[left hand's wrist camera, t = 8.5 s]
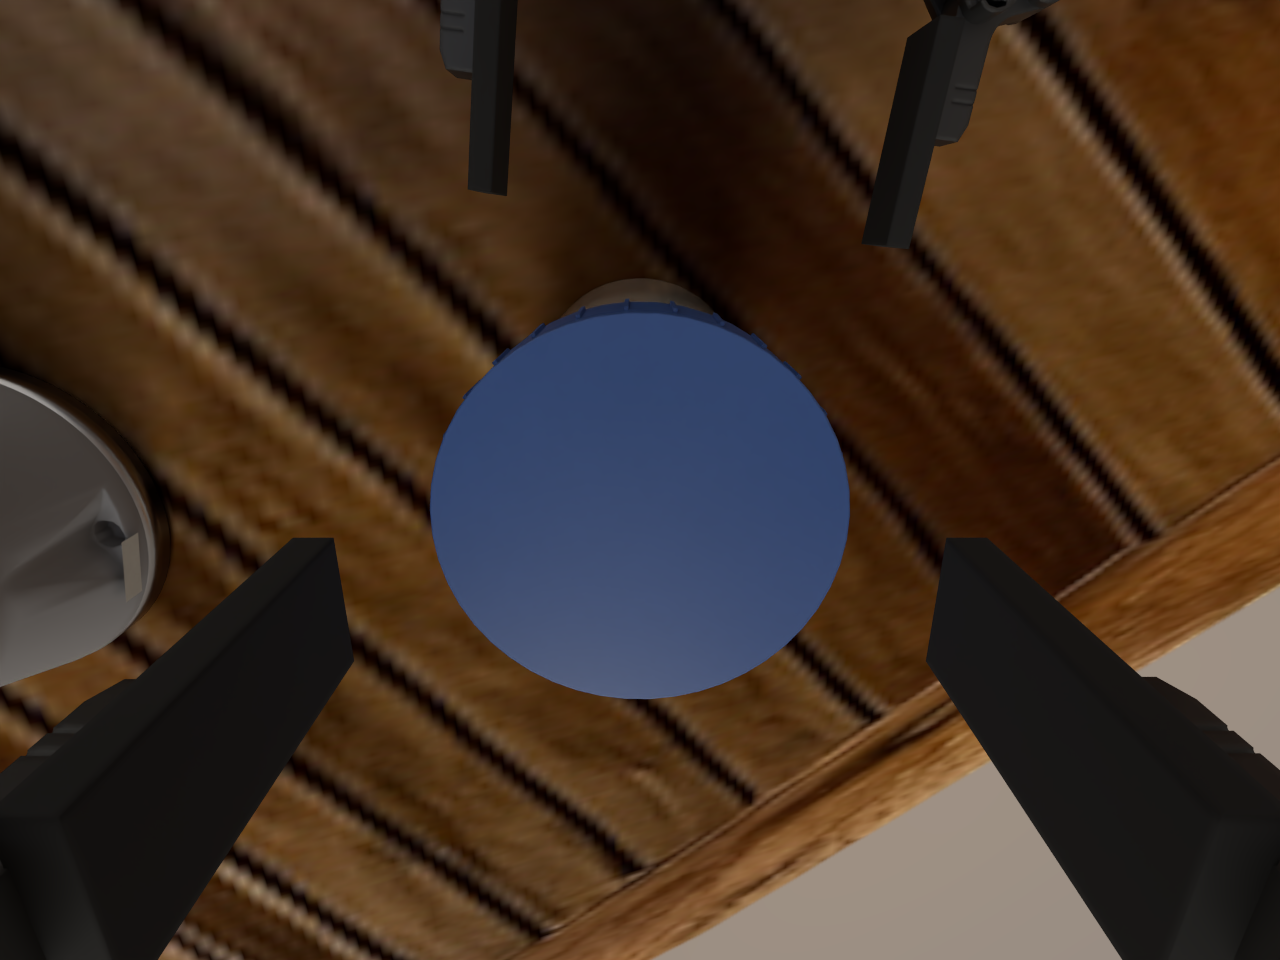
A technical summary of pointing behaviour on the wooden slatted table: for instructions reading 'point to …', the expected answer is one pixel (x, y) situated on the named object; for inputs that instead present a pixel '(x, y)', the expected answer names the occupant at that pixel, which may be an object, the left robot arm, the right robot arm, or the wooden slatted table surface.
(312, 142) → the wooden slatted table surface
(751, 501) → the lid
